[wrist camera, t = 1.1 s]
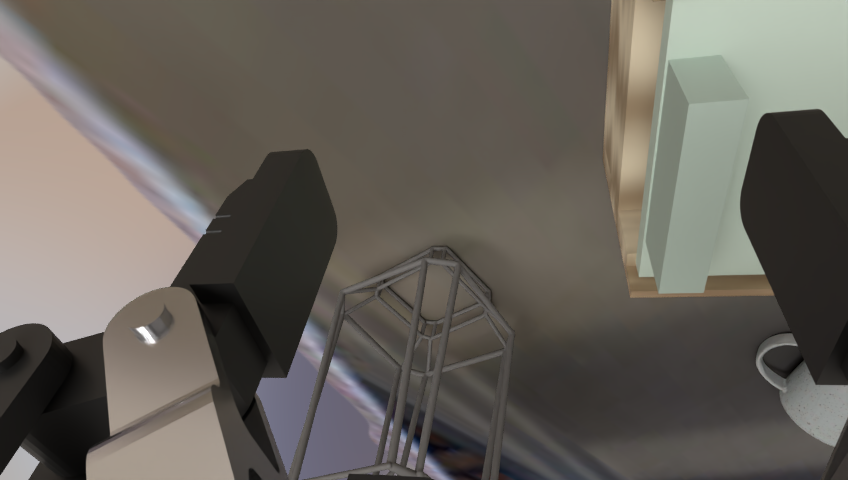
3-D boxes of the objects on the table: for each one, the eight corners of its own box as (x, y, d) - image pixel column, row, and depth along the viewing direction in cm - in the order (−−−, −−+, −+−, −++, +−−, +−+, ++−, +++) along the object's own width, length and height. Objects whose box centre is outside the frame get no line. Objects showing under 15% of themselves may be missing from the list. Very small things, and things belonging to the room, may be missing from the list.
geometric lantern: (417, 352, 60) (324, 806, 34) (320, 257, 53) (109, 743, 27) (548, 308, 53) (558, 848, 27) (456, 191, 46) (347, 775, 19)
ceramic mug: (899, 332, 49) (947, 408, 44) (846, 384, 55) (882, 458, 49) (776, 313, 50) (807, 386, 44) (736, 367, 56) (759, 438, 50)
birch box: (617, -101, 31) (666, -22, 20) (1030, -164, 27) (1351, -106, 16) (602, 159, 42) (630, 297, 31) (895, 141, 38) (1037, 291, 27)
